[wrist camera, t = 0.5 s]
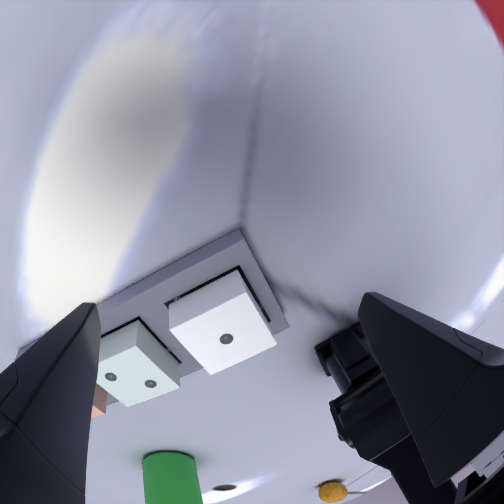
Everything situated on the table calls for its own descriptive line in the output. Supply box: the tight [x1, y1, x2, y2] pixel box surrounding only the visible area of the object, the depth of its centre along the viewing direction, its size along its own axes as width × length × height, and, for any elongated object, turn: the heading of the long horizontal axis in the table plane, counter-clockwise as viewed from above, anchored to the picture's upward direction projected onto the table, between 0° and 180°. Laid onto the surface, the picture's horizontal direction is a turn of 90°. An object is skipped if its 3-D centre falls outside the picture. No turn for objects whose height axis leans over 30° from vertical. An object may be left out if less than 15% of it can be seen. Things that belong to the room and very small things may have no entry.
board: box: [14, 228, 290, 405], centre depth 25 cm, size 10×27×2 cm, turn 114°
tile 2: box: [96, 320, 180, 407], centre depth 23 cm, size 6×6×3 cm
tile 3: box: [91, 383, 107, 418], centre depth 23 cm, size 6×6×3 cm
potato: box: [319, 482, 348, 503], centre depth 64 cm, size 7×14×7 cm, turn 31°
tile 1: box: [169, 270, 277, 375], centre depth 23 cm, size 6×6×3 cm
